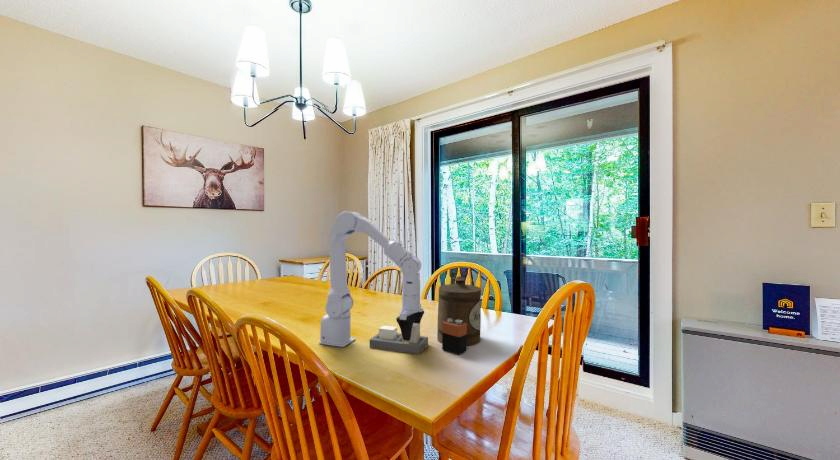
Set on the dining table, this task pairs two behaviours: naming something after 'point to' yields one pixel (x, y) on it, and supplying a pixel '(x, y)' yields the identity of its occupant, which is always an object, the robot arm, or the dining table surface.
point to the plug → (414, 334)
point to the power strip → (396, 341)
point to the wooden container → (460, 308)
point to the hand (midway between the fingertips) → (410, 336)
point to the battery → (454, 336)
